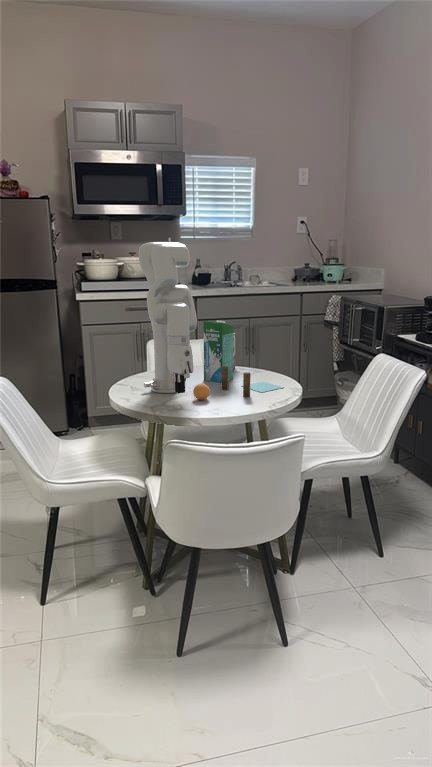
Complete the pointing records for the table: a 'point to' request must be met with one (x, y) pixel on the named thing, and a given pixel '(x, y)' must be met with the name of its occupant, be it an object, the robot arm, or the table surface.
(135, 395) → the table surface
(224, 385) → the left post
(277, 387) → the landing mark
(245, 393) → the right post
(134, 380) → the table surface
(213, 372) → the milk carton
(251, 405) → the table surface
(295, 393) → the table surface
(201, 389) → the ball
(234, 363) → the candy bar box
